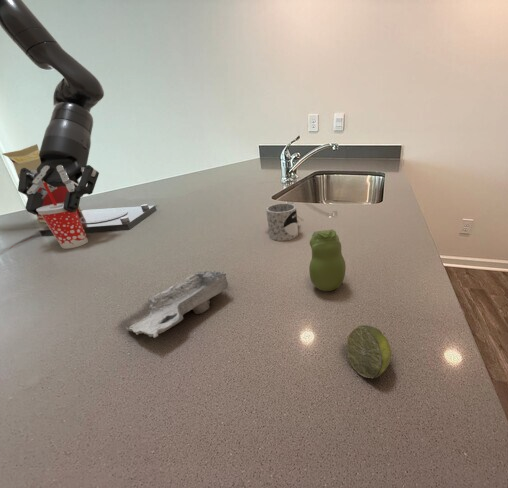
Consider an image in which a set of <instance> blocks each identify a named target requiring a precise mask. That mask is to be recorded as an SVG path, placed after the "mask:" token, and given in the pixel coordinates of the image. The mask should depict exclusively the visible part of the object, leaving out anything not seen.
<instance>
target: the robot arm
mask: <svg viewBox="0 0 508 488" xmlns="http://www.w3.org/2000/svg"><path fill="white" fill-rule="evenodd" d="M0 27H1V29H2V30H3V31H4V32H5V34H6V35H7V36H8V37H9V38H10V39H11V40H12V41H13V43H14V44H15V45H16V46H17V47H18V48H19V49H20V50H21V51H22V53H23V54H24V55H25V56H26V57H28V59H29V60H30V61H31V62H32V63H33V64H34V65H35V66H36V67H38V68H39V69H40V70H43V71H57V72H58V74H60V75H61V76H62V77H63V78H62V79H60V81H59V82H58V84H56V86H55V88H54V91H53V96H52V100H53V102H52V103H53V110H52V113H51V116H50V119H49V123H48V125H47V126H46V128H45V131H44V135H43V138H42V142H41V146H40V149H39V150H40V152H39V157H40V160H41V164H40V165H39V166H38V168H37V169H35V170H28V169H27V168H22V169H21V170H20V177H19V178H18V187H17V191H18V192H19V193H21V194H22V195H25V196H26V195H27V196H28V198H27V200H26V203H25V210H26V212H28V213H29V214H31V215H35V216H37V215H39V214H38V212H37V211H36V209H38V208H40V207H42V206H43V202H44V197H45V196H46V195H47V194H48V192H47V190H46V189H45V187H44V185H43V181H44V182H46V183H47V184H49V185H48V188H49V190H50V192H53V191H54V189H55V188H56V187H60V186H66V187H67V189H68V191H69V193H66V197H65V202H64V206H63V208H64V209H65V210H67V211H68V212H71V213H72V212H76V210H77V209H78V207H80V202H81V198H83V197H84V195H92V194H93V192H94V189H95V187H96V184H97V181H98V178H99V175H100V172H99V171H98V170H97V169H95V168H94V167H93V166H92V165H91V164H88V162H89V161H88V160H89V155H90V152H91V147H92V134H93V130H94V123H95V122H94V117H93V115H92V113H91V110H92V109H93V108H94V107H95V106H96V105H97V104H98V103H100V102H101V101H102V100H103V99H104V97H105V90H104V88H103V86H102V84H101V82H100V81H99V79H98V78H97V77H96V76H95V74H93V73H92V72H91V71H89V70H88V69H87V68H86V67H85V66H84V65H83V64H82V63H80V62H79V61H78V60H77V59H75V58H74V57H73V56H72V55H70V53H69V52H67V51H66V50H65V49H64V48H63V47H62V46H61V45H60V43H59V42H58V41H57V40H56V38H55V37H54V36H53V35H52V33H50V32H49V30H48V29H47V28H46V27H45V26H44V24H43V23H42V22H41V21H40V20H39V19H38V18H37V17H36V15H35V14H34V13H33V12H32V10H31V9H30V8H29V7H28V5H26V4H25V2H24V1H23V0H0ZM27 187H28V189H27ZM39 188H42V190H41V191H40V192H39V193H38V192H37V191H38V190H39ZM27 196H26V197H27Z"/></svg>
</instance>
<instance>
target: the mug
mask: <svg viewBox="0 0 508 488" xmlns="http://www.w3.org/2000/svg"><path fill="white" fill-rule="evenodd" d="M265 211H266V212H265V213H266V219H267V225H268V227H267V228H268V234H269V238H270V239H271V240H273V241H278V242H285V241H290V240H293V239H295V238H297V237H298V236H299V228H298V227H299V225H298V213H297V205H296V204H293V203H288V202H286V203H285V202H282V203H281V202H279V203H275V204H274V203H273V204H270V205H268V206H267V207H266V208H265Z"/></svg>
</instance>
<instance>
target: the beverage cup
mask: <svg viewBox="0 0 508 488" xmlns="http://www.w3.org/2000/svg"><path fill="white" fill-rule="evenodd" d="M43 185H44V187H45V189H46V190H47V192H48V194H49V196H50V198H51V200H52V202H53V204H51V205H47V206H43V207H40V208H38V209H36V211H37V212H38V214H41V216H42V217H43V219H44V220H45V222H46V223H45V224H46V226H47V227H49V228H50V230H51V231H52V233H53V234H54V235H53V236H54V238H55V239H56V241H57V242H58V244H59V246H60V247H61V248H62V249H64V250H65V249H66V250H67V249H69V250H70V249H75V248H77V247H82V246H85V245H86V244H88V242H89V239H88V237H87V233H85V231H84V229H83V226H82V224H81V221H80V218H79V216H78V213H77V211H76V212H72V213H71V212H68V211H67V210H65V209H64V208H63V206H64V203H56V202H55V200H54V198H53V196H52V194H51V192H50V190H49V188H48V186H47V184H46V182H44V183H43Z"/></svg>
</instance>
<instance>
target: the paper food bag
mask: <svg viewBox="0 0 508 488" xmlns="http://www.w3.org/2000/svg"><path fill="white" fill-rule="evenodd" d="M39 152H40V149H39V146H38V144H37V143H36V144H34V145H30V146H28V147H25V148H23V149H20V150H19V149H18V150H14V151H9V152H4V153H2V155H3V156H5V157H7V158H8V159H9V160H10V161H11V163H12V165H13V167H14V169H15V172H16V175H17V178H18V179H19V177H20V170H21V169H22V168H27V169H28V170H35V169H37V168H38V166H39V165H40V164H41V160H40V157H39ZM43 183H44V181H43ZM46 184H47V183H46ZM48 185H49V184H47V186H48ZM27 189H28V187H27ZM41 190H42V188H39V190H38V191H37V192H38V193H39V192H40V191H41ZM66 193H69V191H68V189H67V187H66V186H60V187H56V188H55V189H54V191H53V192H51V194H52V196H53V198H54V200H55V202H56V203H64V202H65V197H66ZM25 196H26V198H27V199H28V196H27V195H25ZM51 204H53V202H52V200H51V198H50V196H49V194H47V195H46V196H45V197H44V202H43V206H47V205H51ZM43 206H42V207H43ZM76 211H77V213H78V212H81V211H82V210H81V207H80V206H79V207H78V209H77V210H76ZM36 217H37V219H38V222H39V223H45V224H47V223H46V222H45V220H44V219H43V217H42V216H41V214H39V215H36Z"/></svg>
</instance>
